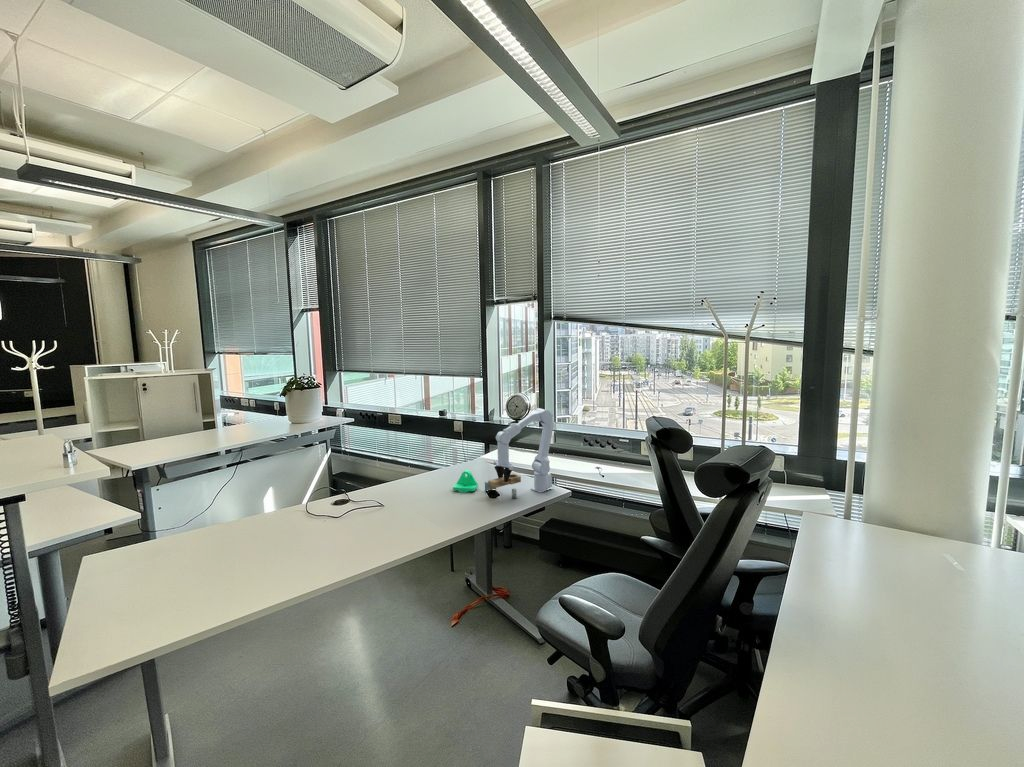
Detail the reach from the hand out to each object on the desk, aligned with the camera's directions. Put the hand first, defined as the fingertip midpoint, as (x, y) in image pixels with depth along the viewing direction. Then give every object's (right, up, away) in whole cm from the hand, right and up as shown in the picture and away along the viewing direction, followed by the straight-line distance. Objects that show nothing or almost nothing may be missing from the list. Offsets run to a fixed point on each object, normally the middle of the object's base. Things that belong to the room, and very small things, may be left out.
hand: (503, 480), depth 232 cm
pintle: (+6, -9, -2) cm, 10 cm away
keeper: (-6, -8, +8) cm, 13 cm away
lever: (0, -2, 0) cm, 2 cm away
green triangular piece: (-21, -8, +11) cm, 25 cm away
